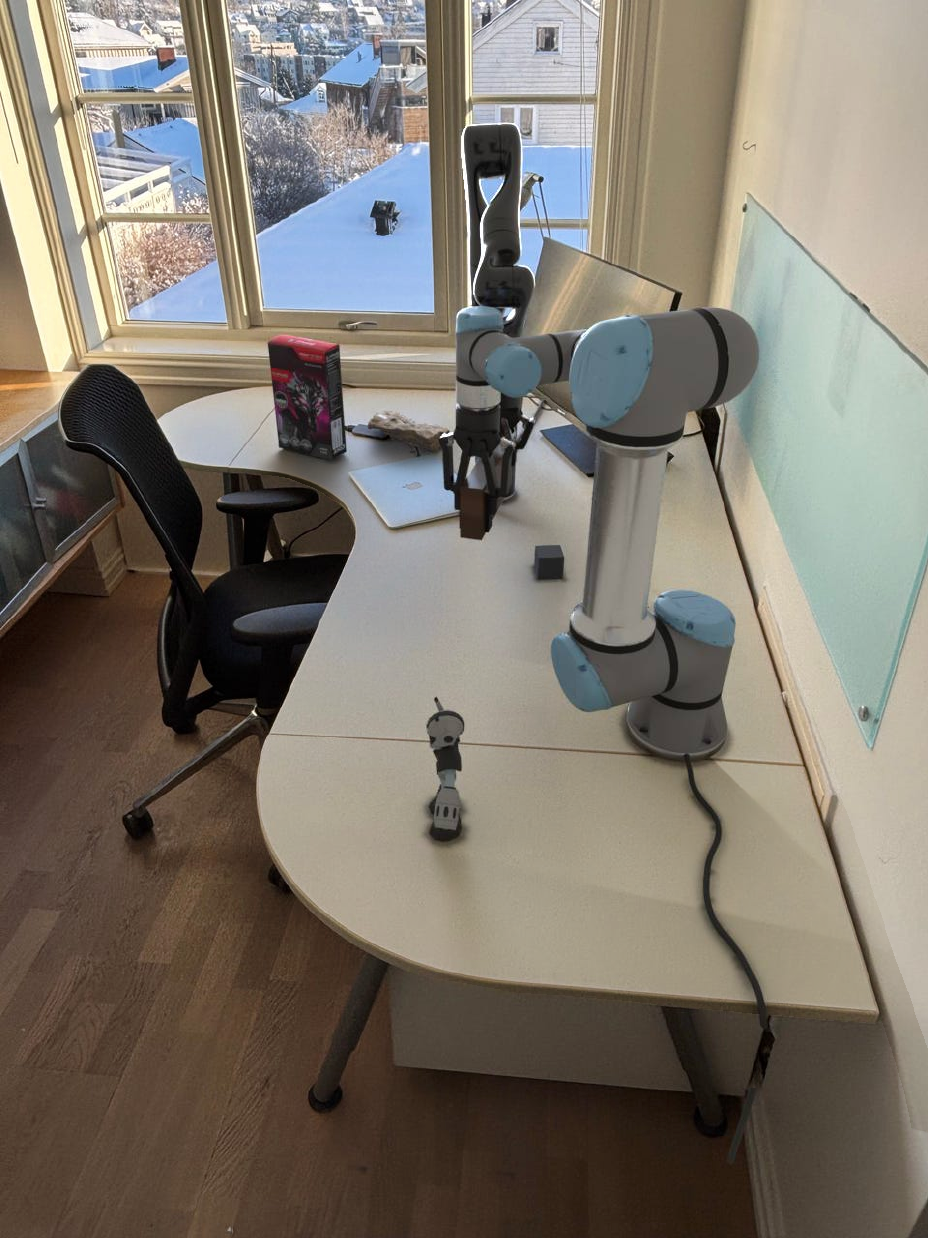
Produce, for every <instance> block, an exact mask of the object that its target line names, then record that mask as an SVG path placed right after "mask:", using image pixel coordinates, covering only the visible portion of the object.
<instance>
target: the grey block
mask: <svg viewBox="0 0 928 1238" xmlns="http://www.w3.org/2000/svg"><path fill="white" fill-rule="evenodd" d="M562 549H563V548H562V546H561V544H547V545H546V544H544V545H541V544H540V545H534V560H533V569H534V572H535V576H536V580H537V581H556V580H563V579H564V569H565V554H564V551H563V550H562Z"/></svg>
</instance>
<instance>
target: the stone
mask: <svg viewBox="0 0 928 1238" xmlns="http://www.w3.org/2000/svg"><path fill="white" fill-rule="evenodd" d="M367 429H369V430H378V431H380V433H381V434H383V435H386V436H389V437H390V440H392V441H401V442H403V443H405V444H409V445H411V446H414V447H419V448H422V447H423V448H425V449H428V450H430V451H437V450H439V448H441V446H440V444H439V439H440V437H441V436H442V435H443V433H447V434H450V433H451V432H450V431H451V430H450V429H449V428H447V427H444V426H441V425H438V424H429V423H425V422H419V421H415V420H412V418H408V417H406V416H404V415H403V414H401V413H400V412H397V411H393V410H384V411H376V412H375V413H374V414H373V415H372V416H371V417H370V419H369V421H368V422H367Z"/></svg>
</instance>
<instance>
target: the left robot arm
mask: <svg viewBox="0 0 928 1238" xmlns="http://www.w3.org/2000/svg"><path fill="white" fill-rule="evenodd" d="M522 143H523V142H522V135H521V131H520V129H519V127H518V125H517V124H515V123H513V122H499V123H479V124H476V123H475V124H469V125H466V126H465V128H464V129H463V131H462V135H461V159H462V161H461V162H462V169H463V171H462V172H463V180H464V181H463V182H464V190H465V201H466V214H467V215H466V216H467V250H468V251H467V253H468V254H467V255H468V257H467V259H468V262H467V263H468V280H469V291H470V294H469V295H470V296H469V297H470V307H475V306H486V307H492V308H495V309H498V310H499V311H500V312H501V313H502V316H503V325H504V328H503V333H504V334H506V335H507V336H509V337H510V338H518V337H523V332H524V327H525V326H524V325H525V322H526V318H527V314H528V311H529V309H530V305H531V303H532V300H533V297H534V293H535V288H536V281H535V280H536V279H535V276H534V273H533V272H532V270H531V269H530V268H529V266H526V265H522V264H517V263H518V262H519V261H520V259H521V256H522V240H521V239H522V238H521V226H520V207H521V198H522V197H521V196H522V181H523V180H522V179H523V178H522V176H523V144H522ZM498 179H499V180H501V179H503V181H502V183H501V185H500V187H499V189H498V190H497V192H496V193H495V195H494V196H493V197H492V199H491V200H490V201H489V203H488V201H487V199H486V197H485V195H484V191H483V189H482V185H481V181H482V180H498ZM507 309H511V310H510V312H509V313H508V314H507V315H505V312H506V310H507ZM504 315H505V316H504ZM523 401H524V396H523V397H519V398H512V397H509V396H506V395H505V394H503V393H501V399H500V403H499V405H500V432H501V434H502V436H504V437H505V438H506V440H508V441H512V440H514V441H515V442H516V447H515V449H514V451H513V453H512V463H511V468H512V485H511V487H510V489H509V491H508V493H507V495H506V497H505V498H504V500H503V502H502V504H503V503H507V502H510V501H512V500H513V499H514V498H515V497H516V476H517V475H516V473H517V472H516V471H517V460H518V450H524V449H525V447H526V445H527V443H528V441H529V439H530V437H531V434H532V431H533V430H534V427H535V425H536V421H537V418H536V417H537V416H538V414H539V412H540V411H541V409H542V407H543V405H544V402H545V400H543V399H542V398H541V401H540V403H539V404H538V407H537V409H536V411H535V413H534V414H533V416H531V417H530V416H526V415H524V413H523V411H522V410H523ZM520 422H521V423H522V424H521V427H522V429H523V430H522V431H521V433H520V434H519V435H518V424H519V423H520ZM478 459H479V457H477V456H474V465H475V464H476V462H477V460H478Z"/></svg>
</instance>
